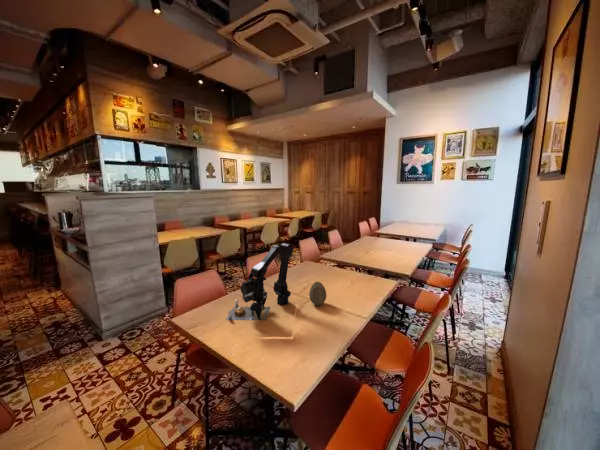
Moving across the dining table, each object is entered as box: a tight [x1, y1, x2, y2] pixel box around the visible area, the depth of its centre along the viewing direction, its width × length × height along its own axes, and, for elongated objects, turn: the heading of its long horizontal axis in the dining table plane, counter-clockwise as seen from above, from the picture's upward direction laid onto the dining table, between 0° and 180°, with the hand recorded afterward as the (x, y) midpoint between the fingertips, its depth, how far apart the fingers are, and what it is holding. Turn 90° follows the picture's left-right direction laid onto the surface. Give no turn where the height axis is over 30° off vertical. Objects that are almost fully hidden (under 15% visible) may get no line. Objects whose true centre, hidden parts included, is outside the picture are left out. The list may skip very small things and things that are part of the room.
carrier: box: [225, 298, 271, 321], centre depth 141 cm, size 23×15×6 cm, turn 87°
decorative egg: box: [308, 281, 327, 306], centre depth 151 cm, size 11×11×15 cm
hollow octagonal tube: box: [254, 305, 266, 318], centre depth 139 cm, size 6×6×4 cm
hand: (260, 314), depth 139 cm, fingers open, 7 cm apart
